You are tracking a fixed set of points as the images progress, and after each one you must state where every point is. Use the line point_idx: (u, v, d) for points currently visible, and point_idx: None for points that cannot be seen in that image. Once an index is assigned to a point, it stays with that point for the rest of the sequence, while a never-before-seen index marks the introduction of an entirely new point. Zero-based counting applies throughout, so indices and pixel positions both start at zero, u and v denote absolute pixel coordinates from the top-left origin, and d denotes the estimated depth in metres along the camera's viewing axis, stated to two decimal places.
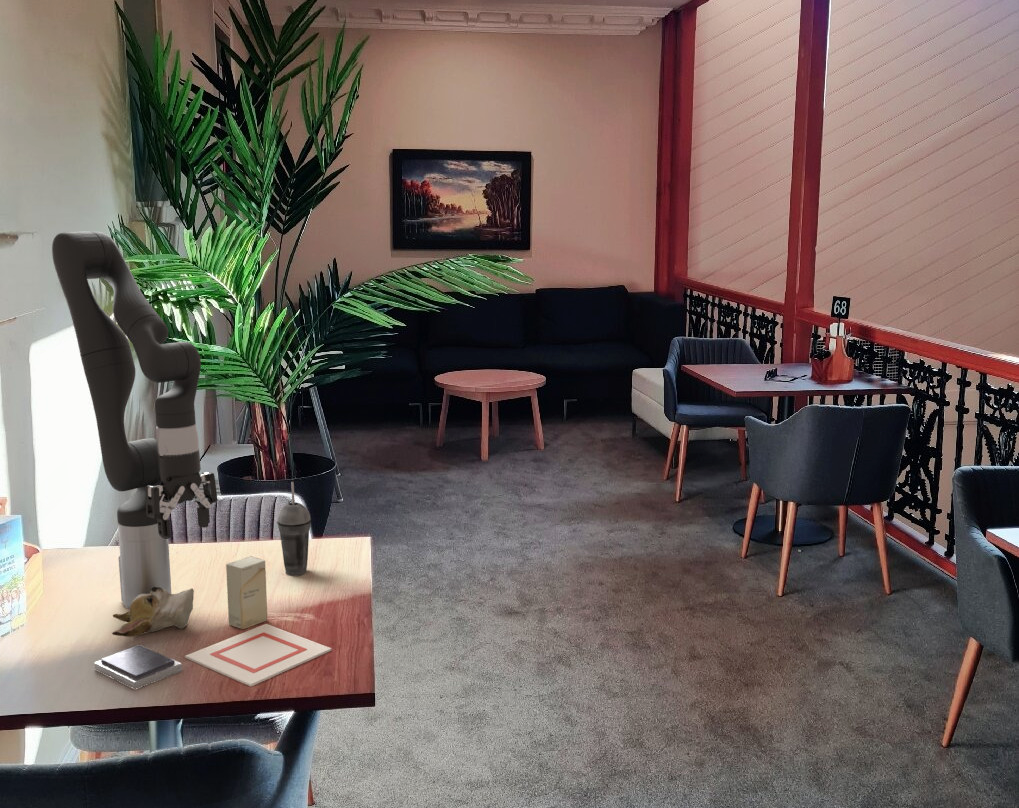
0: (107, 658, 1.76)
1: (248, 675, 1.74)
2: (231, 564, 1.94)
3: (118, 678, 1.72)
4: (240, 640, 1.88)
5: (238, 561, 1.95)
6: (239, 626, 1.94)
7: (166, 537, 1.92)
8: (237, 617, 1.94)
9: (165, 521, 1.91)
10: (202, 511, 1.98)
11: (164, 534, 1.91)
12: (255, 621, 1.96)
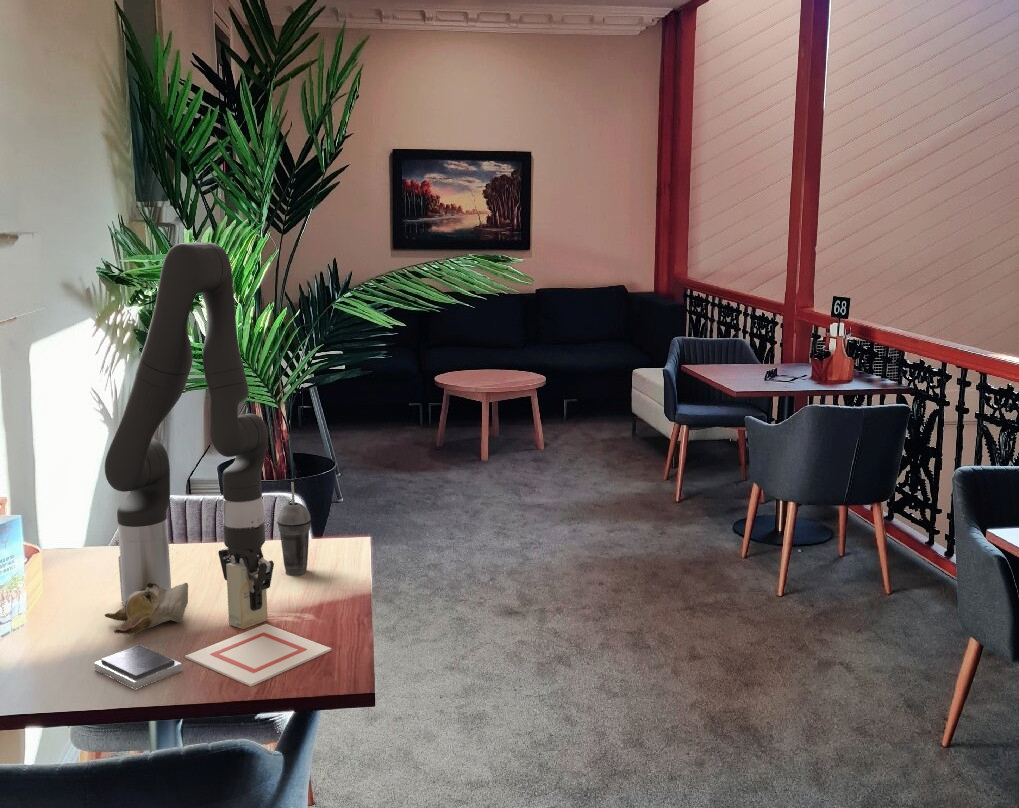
0: (107, 658, 1.76)
1: (248, 675, 1.74)
2: (231, 564, 1.94)
3: (118, 678, 1.72)
4: (240, 640, 1.88)
5: None
6: (239, 626, 1.94)
7: (260, 607, 1.95)
8: (237, 617, 1.94)
9: (260, 591, 1.95)
10: None
11: None
12: (255, 621, 1.96)
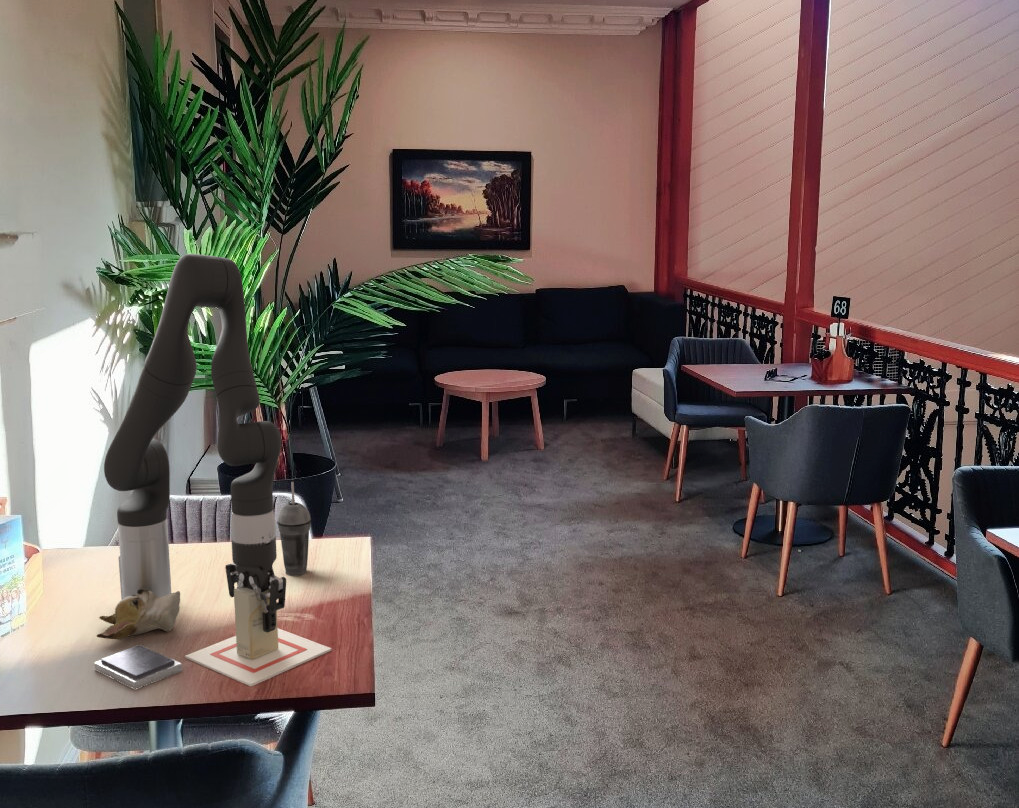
0: (107, 658, 1.76)
1: (248, 675, 1.74)
2: (239, 589, 1.80)
3: (118, 678, 1.72)
4: None
5: None
6: (248, 656, 1.80)
7: (273, 628, 1.80)
8: (246, 646, 1.80)
9: (274, 611, 1.80)
10: None
11: None
12: (265, 650, 1.82)
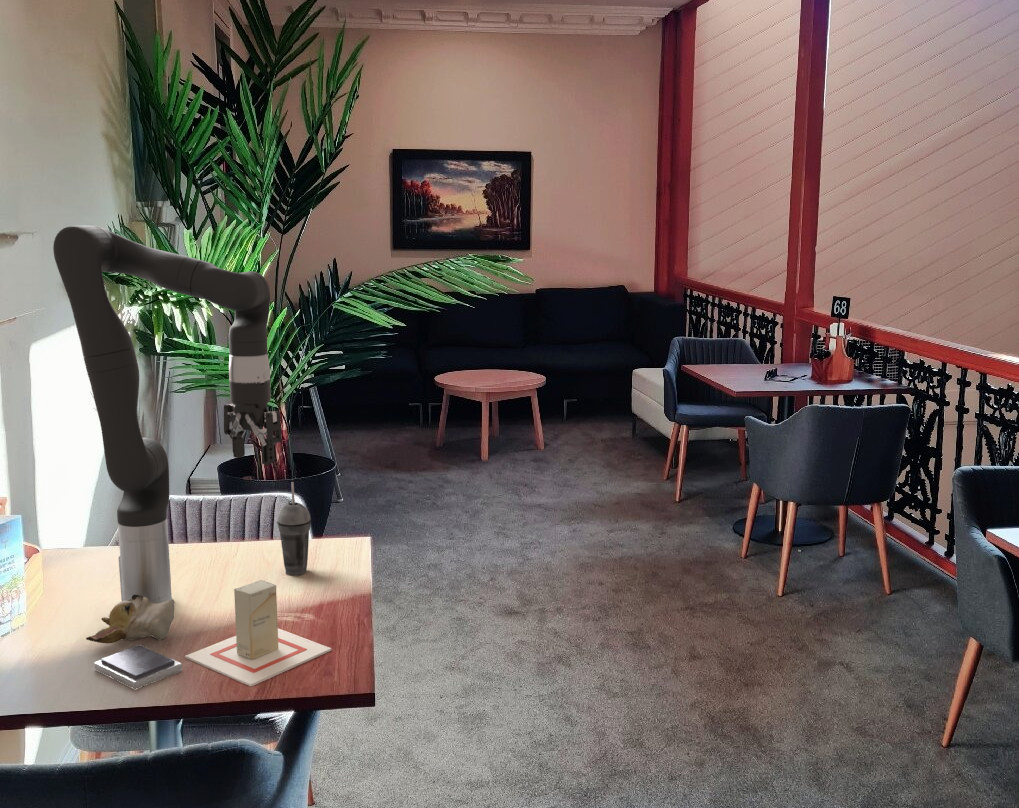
0: (107, 658, 1.76)
1: (248, 675, 1.74)
2: (239, 589, 1.80)
3: (118, 678, 1.72)
4: None
5: (247, 586, 1.82)
6: (248, 656, 1.80)
7: (271, 462, 1.96)
8: (246, 646, 1.80)
9: None
10: (242, 440, 2.01)
11: None
12: (265, 650, 1.82)
